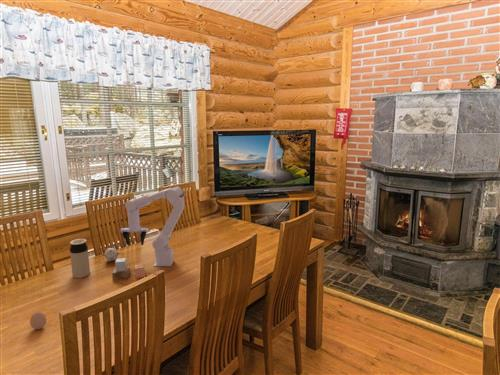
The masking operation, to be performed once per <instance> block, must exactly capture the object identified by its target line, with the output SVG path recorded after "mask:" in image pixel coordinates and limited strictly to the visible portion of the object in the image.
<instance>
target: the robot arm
mask: <svg viewBox="0 0 500 375" xmlns="http://www.w3.org/2000/svg"><path fill="white" fill-rule="evenodd" d="M185 195H186V194H185V191H184V189H183V188H182V187H180V186H179V185H178V186H174V187H169V188H165V189H162V190H161V191H158V192H155V193H152V194H144V193H142V194H141V195H140V196H137V197H136V196H135V197H133V198H132V199H130V200H128V201H126V202H125V205H124V207H125V210H127V218H128V219H127V220H128V222H127V223H128V227H123V228H122V227H121V229H120V233H121V234H122V237H123V238H124V240H125V242H126V245H127V246H130V243H131V242H130V241H131V240H130V233H139V236H140V241H141V242H140V245H141V246H144V245H145V238H146V235H147V233H148V232H149V228H148V227H141V223H140V208H143V207H147V206H149V205H151V203H152V202H153V201H156V200H159V199H164V200H167V201H168V202H169V203H170V205H171V206H172V207H173V208H172V210H171V212H170V214H169V216H168V218H167V219H166V222H165V224H164V226H163V227H162V230H161V231H160V233H159V234H158V236H157V237H156V238H155V239H154V240H153V241H152V248H153V249H154V256H155V259H154V260H155V263H154V264H153V267H172V265H173V263H174V262H175V261H174V249H173V247H170V246H169V244H170V242H171V236H172V232H173V230H174V229H175V227H176V225H177V223H178V221H179V219H180V217H181V214H182V213H183V211H184V209H185Z"/></svg>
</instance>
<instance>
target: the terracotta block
mask: <svg viewBox="0 0 500 375" xmlns="http://www.w3.org/2000/svg"><path fill="white" fill-rule="evenodd" d="M134 275H135V279H136V278H144V277H146V268H145V263H140V264H135V265H134Z"/></svg>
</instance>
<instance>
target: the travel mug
mask: <svg viewBox="0 0 500 375" xmlns="http://www.w3.org/2000/svg"><path fill="white" fill-rule="evenodd" d="M69 245H70V248H69V253H70V254H69V255H70V264H71V265H70V266H71V273H72V278H75V279H80V278H85V277H87V276H89V275H90V274H91V268H90V258H89V257H90V256H89V248H88V245H87V239H85V238H76V239H73V240H71V241H70V242H69Z"/></svg>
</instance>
